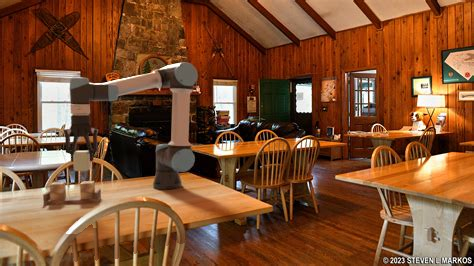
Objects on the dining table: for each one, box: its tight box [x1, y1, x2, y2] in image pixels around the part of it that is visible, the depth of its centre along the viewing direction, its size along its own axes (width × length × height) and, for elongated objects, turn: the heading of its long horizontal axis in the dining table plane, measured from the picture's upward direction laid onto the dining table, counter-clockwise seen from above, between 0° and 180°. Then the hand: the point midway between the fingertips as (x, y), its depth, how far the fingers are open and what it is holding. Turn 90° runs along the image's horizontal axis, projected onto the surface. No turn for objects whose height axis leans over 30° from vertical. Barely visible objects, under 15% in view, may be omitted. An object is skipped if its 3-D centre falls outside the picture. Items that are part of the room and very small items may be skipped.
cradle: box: [42, 180, 102, 206], centre depth 159 cm, size 22×8×8 cm, turn 100°
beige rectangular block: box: [74, 149, 90, 172], centre depth 152 cm, size 5×5×8 cm
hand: (82, 168), depth 152 cm, fingers closed on beige rectangular block, 5 cm apart
